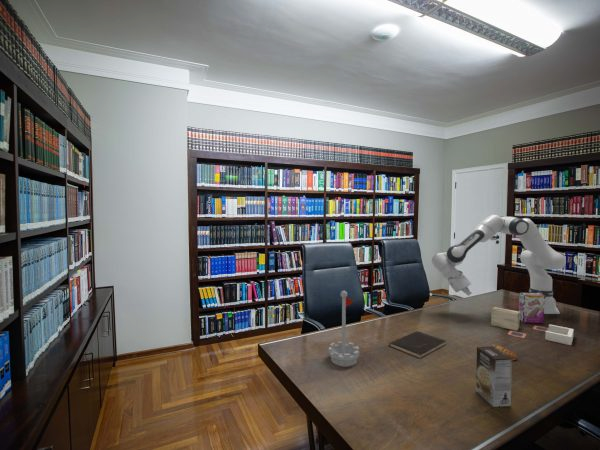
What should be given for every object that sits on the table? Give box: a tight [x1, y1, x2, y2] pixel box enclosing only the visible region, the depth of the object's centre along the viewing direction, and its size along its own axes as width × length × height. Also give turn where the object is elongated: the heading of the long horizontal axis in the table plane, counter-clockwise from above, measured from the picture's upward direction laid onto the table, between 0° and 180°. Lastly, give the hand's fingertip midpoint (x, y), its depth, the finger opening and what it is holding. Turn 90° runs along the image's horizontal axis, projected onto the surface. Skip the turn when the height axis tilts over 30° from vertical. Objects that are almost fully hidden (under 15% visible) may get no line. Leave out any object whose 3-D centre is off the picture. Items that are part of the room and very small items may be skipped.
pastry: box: [492, 344, 518, 361], centre depth 132 cm, size 9×7×4 cm
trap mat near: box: [507, 330, 527, 339], centre depth 155 cm, size 7×7×1 cm
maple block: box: [490, 306, 520, 332], centre depth 167 cm, size 6×12×9 cm, turn 45°
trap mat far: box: [532, 325, 549, 333], centre depth 162 cm, size 7×7×1 cm
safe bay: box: [545, 324, 575, 346], centre depth 150 cm, size 14×10×4 cm
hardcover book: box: [388, 330, 447, 359], centre depth 143 cm, size 16×23×2 cm
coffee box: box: [475, 345, 513, 408], centre depth 101 cm, size 9×6×16 cm
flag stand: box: [328, 290, 360, 367], centre depth 128 cm, size 13×13×30 cm
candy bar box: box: [518, 292, 545, 324], centre depth 173 cm, size 11×5×16 cm, turn 84°
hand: (470, 294), depth 179 cm, fingers closed
